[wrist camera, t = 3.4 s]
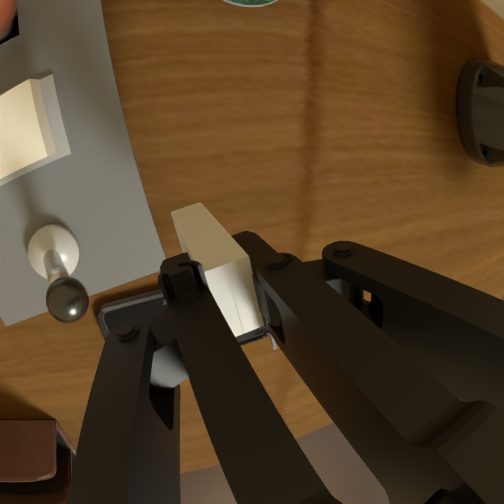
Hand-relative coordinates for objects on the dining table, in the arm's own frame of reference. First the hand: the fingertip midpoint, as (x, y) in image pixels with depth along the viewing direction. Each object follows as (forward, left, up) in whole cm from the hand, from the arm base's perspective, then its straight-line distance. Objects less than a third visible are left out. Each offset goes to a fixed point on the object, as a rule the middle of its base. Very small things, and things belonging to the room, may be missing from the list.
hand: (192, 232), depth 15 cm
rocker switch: (+9, -8, -4) cm, 13 cm away
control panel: (+9, -8, -9) cm, 15 cm away
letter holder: (+31, +21, -9) cm, 38 cm away
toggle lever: (+9, 0, -4) cm, 10 cm away
